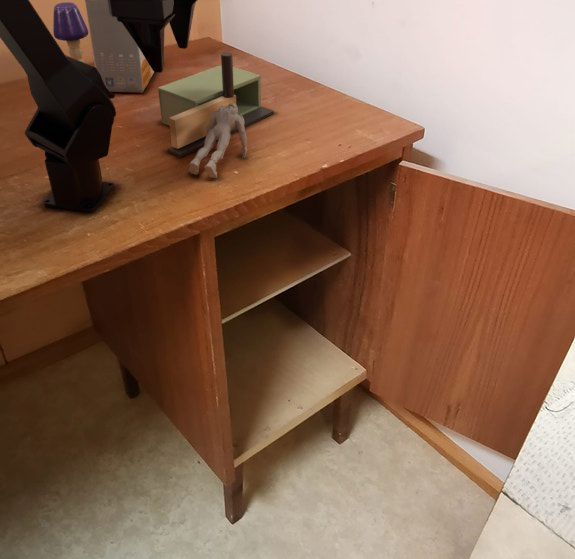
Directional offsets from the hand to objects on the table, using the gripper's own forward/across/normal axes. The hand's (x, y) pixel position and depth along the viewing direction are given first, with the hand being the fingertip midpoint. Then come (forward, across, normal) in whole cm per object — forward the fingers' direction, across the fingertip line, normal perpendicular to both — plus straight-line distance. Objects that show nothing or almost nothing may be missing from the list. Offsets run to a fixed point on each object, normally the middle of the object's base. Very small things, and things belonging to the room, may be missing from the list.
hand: (171, 59), depth 77 cm
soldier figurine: (+13, -1, -6) cm, 14 cm away
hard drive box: (+13, +26, +18) cm, 34 cm away
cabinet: (+13, +10, 0) cm, 17 cm away
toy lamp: (+13, +7, +17) cm, 23 cm away
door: (+13, +5, -2) cm, 14 cm away
